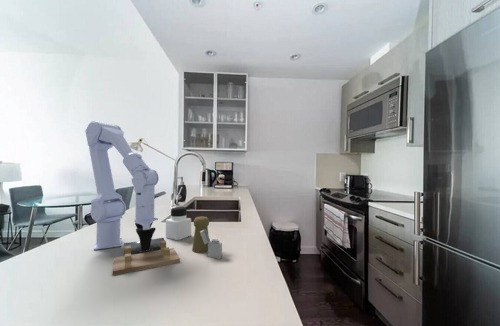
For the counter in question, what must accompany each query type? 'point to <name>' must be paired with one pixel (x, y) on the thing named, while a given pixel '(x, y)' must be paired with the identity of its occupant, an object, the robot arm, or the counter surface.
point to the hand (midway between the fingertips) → (144, 246)
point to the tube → (137, 246)
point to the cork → (198, 242)
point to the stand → (144, 259)
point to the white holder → (212, 245)
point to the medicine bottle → (178, 224)
